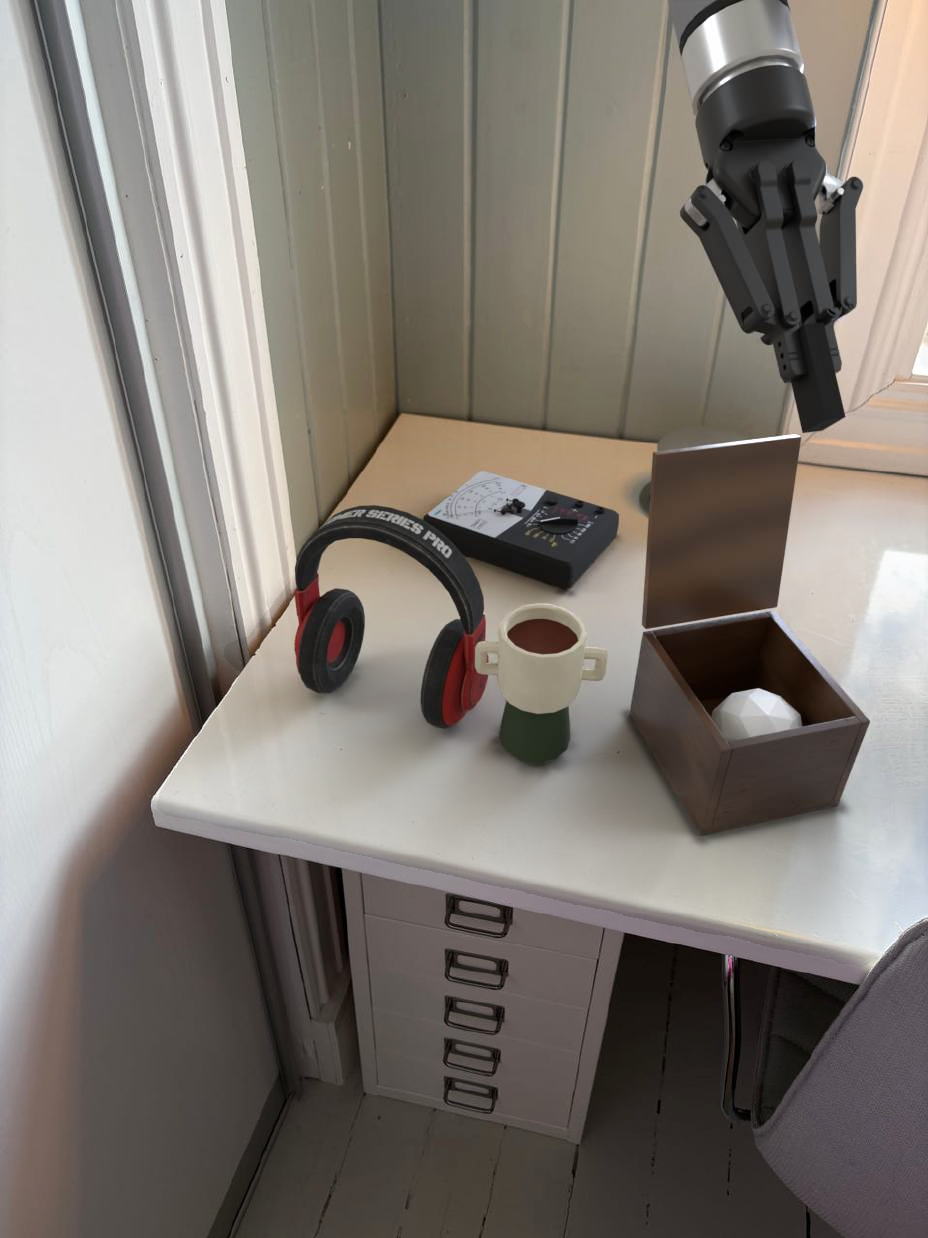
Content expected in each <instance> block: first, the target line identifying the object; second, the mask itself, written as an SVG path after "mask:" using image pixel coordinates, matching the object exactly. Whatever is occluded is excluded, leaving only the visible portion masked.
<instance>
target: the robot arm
mask: <svg viewBox="0 0 928 1238" xmlns="http://www.w3.org/2000/svg"><path fill="white" fill-rule="evenodd" d="M667 4H668V9H669V11H670V16H671V19H672V20H671V21H672V24H673V27H674V32H675V36H676V40H677V44H678V50H679V54H680V60H681V63H682V69H683V73H684V78H685V82H686V87H687V90H688V95H689V100H690V103H691V108H692V112H693V115H694V116H695V120H694V121H695V122H694V126H695V130H696V134H697V139H698V143H699V147H700V152H701V157H702V161H703V165H704V167H705V169H706V170H707V173H706V177H705V184H700V185H698V186H697V187H696V188H695V190H694V191H693V192H692V193H691V194H690V196H689V198H687V200H686V202H685V203H684V204H683V205H682V207H681V208H680V210H679V215H680V218H681V220H683V222H684V223H685V224H686V225H687V226H688V228H690V229H691V231H692V232H693V233H694V234H695V235H696V236H697V238H699V241H700V243H701V246H703V250H704V252H705V254H706V256H707V258H708V261H709V262H710V264H711V267H712V270H713V271H714V273H715V276H716V278H717V280H718V283H719V285H720V286H721V288H722V291H723V292H724V295H725V297H726V299H727V301H728V304H729V306H730V308H731V310H732V312H733V314H734V317H735V319H736V321H737V323H738V325H739V327H740V329H741V332H743V333H745V334H747V335H751V334H753V333H759V334H762V336H760V341H761V342H762V344H764V345H766V346H773V350H774V355H775V359H776V364H777V368H778V372H779V377H780V378H781V380H782V382H783V384H791V388H792V389H791V390H792V393H793V398H794V402H795V407H796V410H797V415H798V419H799V420H798V421H799V424H800V428H801V433H802V434H806V433H815V432H822V431H824V430H826V429H828V428H830V427H831V426H833V425H835V424H836V423H837V422H840V421H841V420H843V419H844V418H846V412H845V408H844V404H843V400H842V396H841V391H840V387H839V382H838V378H837V374H838V373H839V372H841V371H842V367H843V366H842V365H843V362H842V358H841V353H840V349H839V345H838V339H837V337H836V332H835V324H837V323H838V322H839V321H840V320H842V319H843V318H845V317H846V316H847V315H849V313H852V311H853V310H855V309H856V308H857V305H858V295H857V294H858V288H857V287H858V285H857V284H858V283H857V281H858V280H857V275H858V274H857V211H856V210H857V209H856V208H857V206H858V203H859V201H860V197H861V195H862V192H863V190H864V183H863V181H862V180H861V179H860V178H859V177H857V176H851V177H849V178H848V179H847V180H846V181H843V180H841V179H839V178H837V177H836V176H834V175H832V174H830V173H828V165H827V162H826V160H825V159H824V157H823V156H822V155H821V153H820V151H819V150H818V148H817V146H816V129H817V117H816V113H815V109H814V104H813V101H812V100H813V99H812V95H811V92H810V89H809V85H808V80H807V77H806V75H805V74H804V73H803V72H804V67H805V64H804V60H803V56H802V53H801V49H800V45H799V40H798V37H797V32H796V29H795V28H796V27H795V25H794V19H793V18H792V13H791V12H792V11H791V8H790V6H789V2H788V0H667ZM817 197H818V200H819V202H818V205H819V206H818V207H817V206H816V203H815V202H816V200H817ZM818 214H819V215H821V218H820V222H819V237H818V232H817V228H816V224H817V221H818ZM735 221H736V222H735Z"/></svg>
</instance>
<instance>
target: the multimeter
mask: <svg viewBox="0 0 928 1238" xmlns="http://www.w3.org/2000/svg"><path fill="white" fill-rule="evenodd" d="M423 520H424V521H426V522H427V523H429V524H430V525H432V526H433V527H435V528H436V529H437V530H439V531H440V532H441V533H442V534H443V535H445V536H446V537H447V538H448V539H449V540H450V541H451V542H452V543H453V544H454V545H455V546H456V547H457V549H458V550H459V551H460V552H461V553H462V555H463V556H465V557H466V556H467V557H470V558H473V559H475V560H479V561H481V562H483V563H487V564H490V565H493V566H496V567H498V568H501V569H504V570H507V571H509V572H512V573H516V574H518V575H522V576H523V577H526V578H530V579H531V580H535V581H538V582H540V583H544V584H546V585H549V586H553V587H555V588H557V589H561V590H569V589H571V588H572V587H573V586H574V585H575V584H576V583H577V581H578V580H580V578H581V577H582V576H583V575H584V573H586V572H587V570H588V569H589V568H590V567H591V565H593V563H594V562H595V561H596V560H597V559H598V558H599V557H600V556H601V554H602V553H603V552H604V551H605V550H606V549H607V547H609V546H610V544H611V543H612V542H613V541H614V540H615V539H616V538H617V534H618V530H619V525H620V513H618V512H617V511H616V510H614V509H611V508H608V507H605V506H602V505H598V504H595V503H591V502H588V501H585V500H581V499H578V498H575V497H571V496H568V495H565V494H562V493H558V492H555V491H552V490H548V489H545V488H543V487H539V486H535V485H531V484H528V483H526V482H522V481H519V480H515V479H512V478H509V477H506V476H503V475H499V474H495V473H492V472H489V471H485V470H480V471H478V472H476V473H475V474H474V475H473V476H472V477H470V478H469V479H468V480H467V481H465V482H464V483H463V484H462V485H460V486H459V487H458V488H457V489H456V490H454V491H453V492H452V493H451V494H450V495H448V496H447V497H446V498H445V499H443V500H442V501H440V502H439V503H438V504H437V505H435V506H434V507H433V508H432V509H431V510H429V511H428V512H427V513H425V515H423Z"/></svg>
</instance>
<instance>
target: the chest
mask: <svg viewBox="0 0 928 1238" xmlns="http://www.w3.org/2000/svg"><path fill="white" fill-rule="evenodd" d="M633 684H634V685H633V690H632V696H631V697H632V698H631V703H630V709H629V716H630V718H631V719H632V721H633V723H634V725H635V726H636V728H637V729H638V731H639V733H640V735H641V736H642V738H643V740H644V742H645V743H646V745H647V746H648V748H649V750H650V752H651V753H652V755H653V757H654V758H655V760H656V762H657V763H658V766H659V767H660V769H661V771H662V772H663V774H664V776H665V778H666V779H667V781H668V782H669V784H670V786H671V788H672V789H673V791H674V793H675V795H676V796H677V798H678V800H679V801H680V803H681V805H682V806H683V808H684V810H685V811H686V813H687V815H688V817H689V819H690V820H691V821H692V823H693V825H694V827H695V829H696V831H697V832H698V834H699V836H707V835H711V834H715V833H716V834H717V833H720V832H724V831H730V830H733V829H738V828H742V827H743V828H744V827H747V826H748V827H749V826H753V825H757V824H760V823H761V824H762V823H766V822H770V821H775V820H779V819H784V818H788V817H792V816H796V815H802V814H807V813H811V812H815V811H820V810H825V809H829V808H835V807H838V806H839V804H840V802H841V798H842V796H843V793H844V791H845V788H846V786H847V784H848V780H849V779H850V775H851V773H852V770H853V768H854V765H855V763H856V760H857V757H858V755H859V752H860V749H861V747H862V745H863V742H864V739H865V737H866V734H867V732H868V729H869V726H870V724H871V720H870V719H869V718H868V717H867V715H866V714H865V713H864V712H863V711H862V710H861V708H860V707H859V706H858V704H856V703H855V702H854V701H853V699H852V698H851V697H850V696H849V695H848V693H847V692H846V691H845V690H844V688H842V687H841V685H839V683H838V682H837V681H836V680H835V679H834V678H833V676H832V675H831V674H830V673H829V672H828V671H827V669H826V668H825V667H824V666H823V665H822V664H821V663H820V661H819V660H818V659H817V658H816V657H815V656H814V655H813V653H812V652H811V651H810V650H809V648H808V647H807V646H806V645H805V644H804V643H803V641H801V639H800V638H799V637H798V636H797V635H796V634H795V632H794V631H792V629H791V628H790V627H789V626H788V625H787V624H786V623H785V622H784V620H783V619H782V618H781V617H780V616H779V615H778V613H777V612H776V611H775V610H767V611H761V612H753V613H748V614H747V613H746V614H742V615H736V616H730V617H723V618H719V619H713V620H705V621H701V622H700V621H699V622H694V623H688V624H682V625H677V626H676V625H675V626H671V627H664V628H659V629H653V630H646V631H643V632H642V636H641V642H640V648H639V654H638V660H637V667H636V673H635V679H634V683H633ZM757 688H759V689H762V690H765V691H768V692H770V693H773V694H776V695H779V696H781V697H782V698H783V699H784V700H785V701H786V702H787V703H788V704H789V705H790V706H792V707H793V708H794V709H795V710H796V711H797V712H798V713H799V714H800V715H801V721H802V727H800V728H794V729H789V730H784V731H779V732H774V733H769V734H764V735H759V736H754V737H749V738H744V739H739V740H734V741H729V742H727V741H726V740H725V738H724V737H723V735H722V734H721V732H720V731H719V729H718V728H717V726H716V725H715V723H714V722H713V720H712V719H711V716H712V712H713V710H714V709H715V708H716V707H717V706H719V705H720V704H721V703H722V702H723V701H724V700H725V699H726V698H727V697H728V696H730V695H731V694H732V693H736V692H741V691H746V690H752V689H757Z"/></svg>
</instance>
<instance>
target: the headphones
mask: <svg viewBox="0 0 928 1238" xmlns="http://www.w3.org/2000/svg"><path fill="white" fill-rule="evenodd" d="M348 539H361V540H368V541H369V540H370V541H375V542H378V543H381V544H385V545H387V546H390V547H392V548H394V549H395V550H399V551H401V552H402V553H404V554H406V555H407V556H409V557H411V558H412V559H414V560H415V561H417V562H418V563H419V564H421V565H422V566H423V567H425V568H426V569H427V570H428V571H429V572H430V573H431V574H432V575H433V576H434V578H436V579H437V581H439V583H441V585H442V586H443V587H444V589H445V590H446V591H447V592H448V595H449V596H450V598H451V600H452V602H453V604H454V606H455V608H456V611H457V614H458V616H459V618H455V619H453V620H451V621H449V622H448V623H446V624H445V625H444V626H443V627H442V629H441V630H440V631H439V633H438V635H437V636H436V638H435V640H434V642H433V644H432V646H431V649H430V651H429V655H428V657H427V661H426V663H425V667H424V671H423V675H422V681H421V688H420V700H419V701H420V710H421V713H422V717H423V718H424V720H425V721H426V723H427V724H429V725H430V726H432V727H435V728H436V729H443V730H444V729H447V728H451V727H452V726H453V725H455V724H457V723H459V722H460V721H461V720H462V719H463V718H464V717H465V715H466V714H467V712H468V711H470V710H473V709H474V708H475V707H476V706H477V704H478V703H479V702H480V701H481V699H482V697H483V694H484V693H485V690H486V687H487V683H488V680H489V675H486V674H480V673H478V672H477V671H476V668H475V647H476V645H477V643H479V642H482V641H486V635H487V633H486V632H487V631H486V629H487V622H486V620H487V619H486V614H484V612H485V599H484V597H485V596H484V593H483V590H482V588H481V587H482V586H481V583H480V581H479V579H478V577H477V576H476V573H475V571H474V569H473V568H472V565H471V564H470V563H469V561H468V560H467V558H466V556H465V555H464V554H462V553H461V552H460V551H459V550H458V549H457V547H456V546H455V545H454V544H453V543H452V542H451V541H450V540H449V539H448V538H447V537H446V536H445V535H443V534H442V533H441V532H440V531H439V530H437V529H436V528H435V527H433V526H432V525H430V524H429V523H427V522H426V521H424V520H423V519H422V518H420V517H418V516H416V515H414V514H412V513H409V512H408V511H404V510H399V509H398V508H393V507H389V506H382V505H376V504H369V505H357V506H354V507H350V508H346V509H343V510H341V511H339V512H337V513H335V514H333V515H332V516H330V517H329V518H328V519H327V520H326V521H325V522H324V523H323V524H321V526H320V527H318V528H317V530H316V531H314V533H312V535H310V537H309V538H308V539H307V540H306V541H305V543H304V544H303V545H302V546H301V548H300V550H299V552H298V554H297V557H296V560H295V565H294V580H295V587H296V588H295V589H294V603H295V609H296V616H297V621H298V625H297V629H296V632H295V636H294V644H293V645H294V654H295V665H296V668H297V672H298V675H299V677H300V680H301V681H302V683H303V685H304V686H305V688H307V689H309V690H311V691H313V692H315V693H317V694H330V693H333V692H334V691H336V690H338V689H340V688H341V687H342V686H343V684H345V682H346V681H347V680H348V678H349V677H350V676H351V674H352V673H353V670H354V668H355V666H356V664H357V662H358V658H359V656H360V653H361V651H362V646H363V642H364V637H365V627H366V614H365V609H364V605H363V603H362V601H361V599H360V597H359V596H358V595H357V594H356V593H354V592H353V591H351V590H349V589H345V588H337V587H336V588H333V589H330V590H328V591H326V592H325V593H324V594H322V595H321V594H320V584H319V583H320V582H319V581H320V574H319V568H320V563H321V559H322V556H323V554H324V552H325V551H326V550H327V549H328V547H329V546H330V545H332V544H333V543H335V542H337V541H342V540H348ZM487 663H490V661H489V653H487Z"/></svg>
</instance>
